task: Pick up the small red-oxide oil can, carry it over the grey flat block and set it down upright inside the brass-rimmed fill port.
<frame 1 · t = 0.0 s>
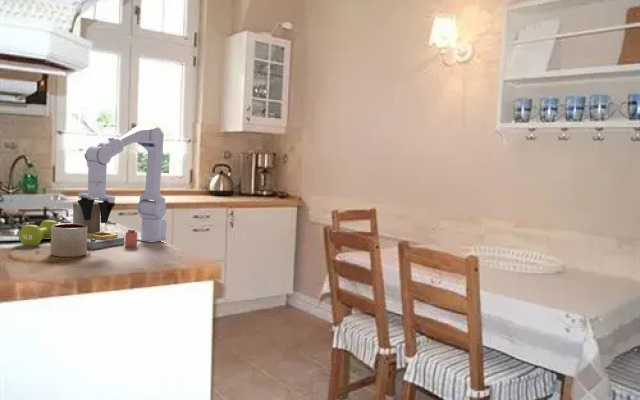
hand: (95, 221, 188), 10 cm above the countertop, tool pointing down, fingers open, 7 cm apart
pillar candle: (85, 238, 210), on the countertop
planter: (68, 255, 180), on the countertop
oil can: (130, 247, 199), on the countertop
dumbbell: (40, 243, 196), on the countertop
grey flat block: (97, 244, 199), on the countertop
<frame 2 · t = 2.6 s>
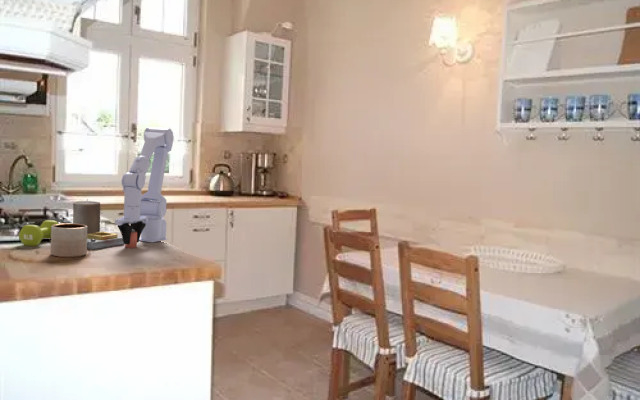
hand: (131, 243, 199), 1 cm above the countertop, tool pointing down, fingers closed on oil can, 4 cm apart
oil can: (130, 247, 199), on the countertop, touching gripper
everything else where it was.
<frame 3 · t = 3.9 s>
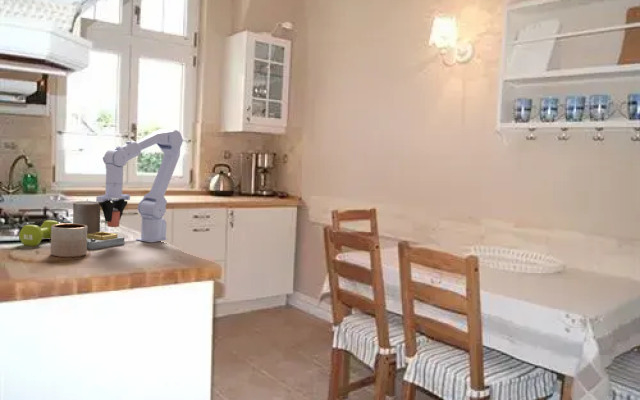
hand: (112, 220, 199), 9 cm above the countertop, tool pointing down, fingers closed on oil can, 4 cm apart
oil can: (113, 226, 199), point 7 cm above the countertop, touching gripper
everything else where it was.
when the fingers open (5 cm above the countertop, at t = 5.6 s): oil can stays where it is, resting on grey flat block.
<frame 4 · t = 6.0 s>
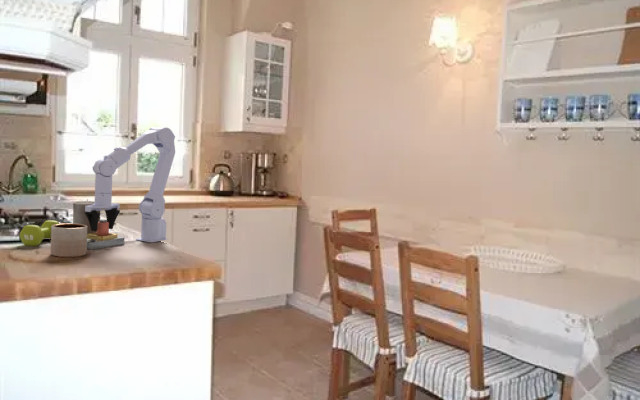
hand: (102, 229, 200), 5 cm above the countertop, tool pointing down, fingers open, 7 cm apart
oil can: (102, 237, 200), point 3 cm above the countertop, touching grey flat block
everything else where it was.
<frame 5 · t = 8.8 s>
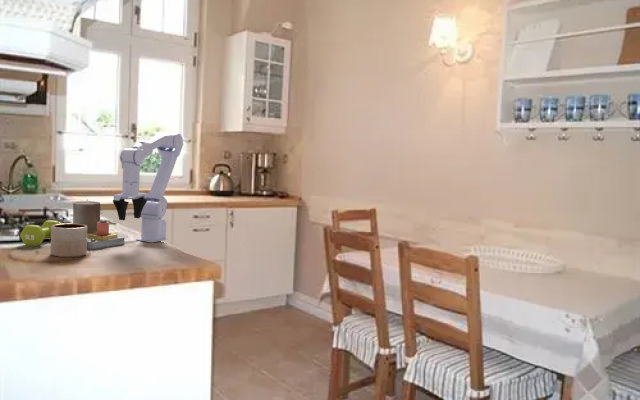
hand: (129, 219, 200), 10 cm above the countertop, tool pointing down, fingers open, 7 cm apart
nothing on the countertop moved.
at the end: oil can 0.4 cm from the target spot on the grey flat block, point 2.6 cm above the grey flat block's base; oil can tilted 3°; the gripper is holding nothing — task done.
